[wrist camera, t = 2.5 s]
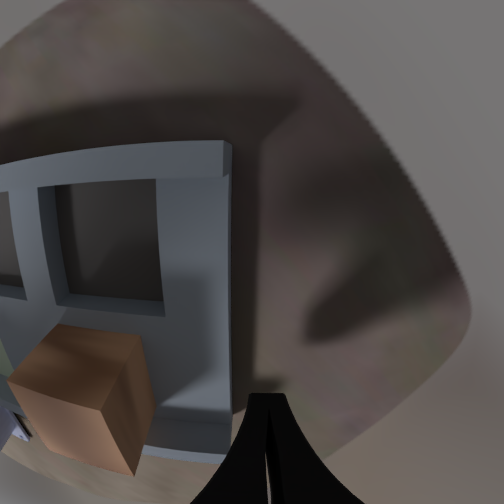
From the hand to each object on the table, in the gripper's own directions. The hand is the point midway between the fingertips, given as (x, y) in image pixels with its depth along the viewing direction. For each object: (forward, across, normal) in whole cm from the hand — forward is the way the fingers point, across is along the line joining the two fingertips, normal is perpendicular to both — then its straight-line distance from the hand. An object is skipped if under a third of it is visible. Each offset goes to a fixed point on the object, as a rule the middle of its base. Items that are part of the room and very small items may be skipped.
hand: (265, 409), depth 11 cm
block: (+2, +8, 0) cm, 8 cm away
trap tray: (+3, +13, -3) cm, 13 cm away
